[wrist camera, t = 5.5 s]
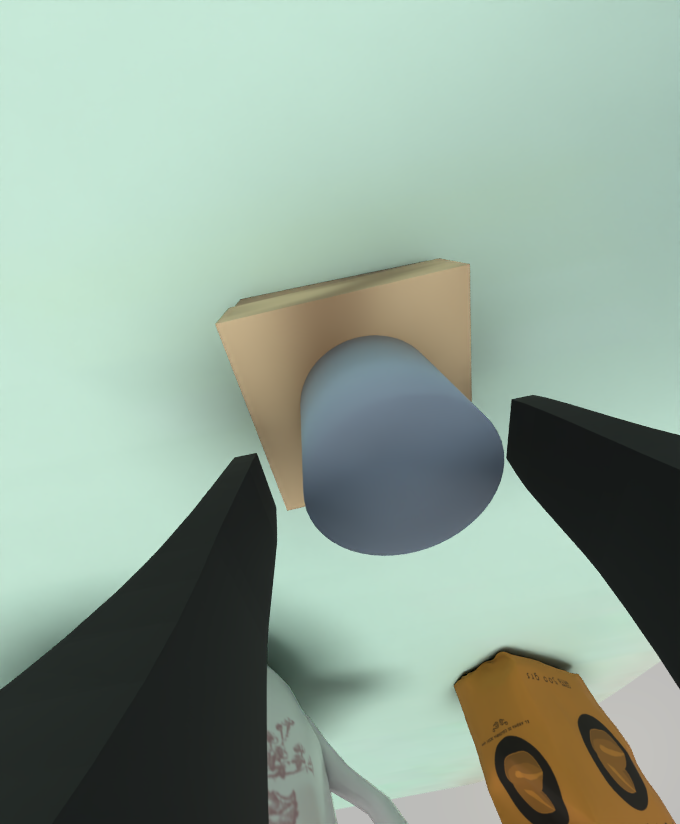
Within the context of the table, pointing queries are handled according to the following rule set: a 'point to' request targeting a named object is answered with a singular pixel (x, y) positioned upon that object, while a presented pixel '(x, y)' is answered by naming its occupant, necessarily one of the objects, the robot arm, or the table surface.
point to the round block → (392, 449)
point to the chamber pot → (311, 768)
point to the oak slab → (332, 325)
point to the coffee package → (552, 748)
